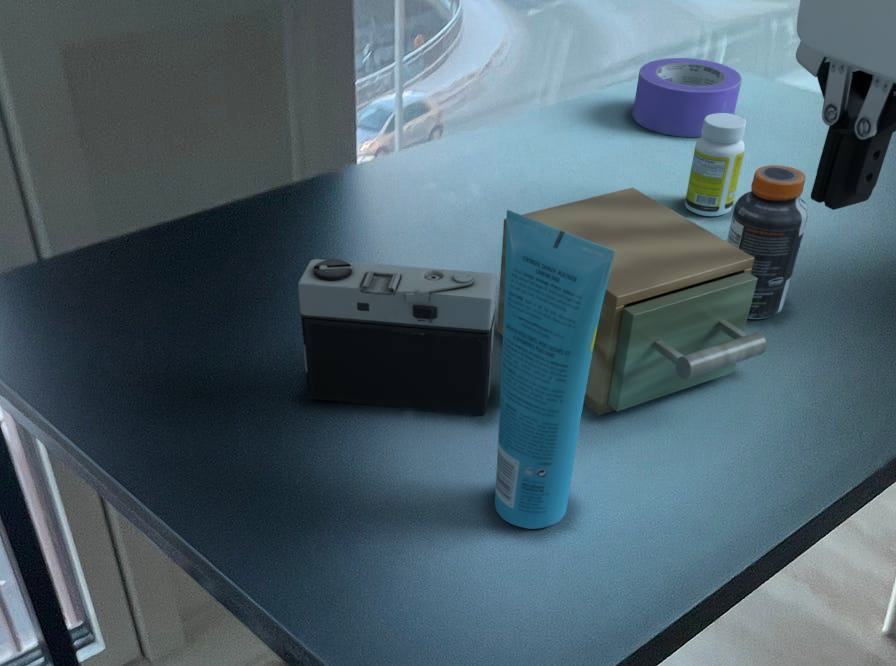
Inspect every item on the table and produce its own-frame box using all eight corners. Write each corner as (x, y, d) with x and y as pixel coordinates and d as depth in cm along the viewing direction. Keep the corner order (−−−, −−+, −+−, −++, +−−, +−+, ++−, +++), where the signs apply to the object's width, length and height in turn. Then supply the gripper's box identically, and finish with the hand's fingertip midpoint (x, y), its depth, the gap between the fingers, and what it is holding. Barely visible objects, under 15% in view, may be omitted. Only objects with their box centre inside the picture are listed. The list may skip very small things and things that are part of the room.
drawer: (772, 398, 77) (800, 303, 71) (653, 441, 73) (673, 343, 67) (628, 300, 87) (643, 210, 82) (518, 332, 84) (525, 239, 78)
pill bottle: (795, 305, 89) (834, 173, 81) (758, 328, 86) (794, 194, 78) (737, 282, 92) (768, 152, 84) (699, 304, 89) (728, 172, 81)
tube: (594, 511, 69) (639, 233, 55) (556, 547, 66) (593, 265, 52) (504, 470, 72) (525, 198, 58) (464, 504, 69) (476, 227, 55)
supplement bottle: (716, 195, 105) (735, 109, 99) (740, 214, 102) (760, 125, 96) (675, 201, 104) (691, 114, 98) (698, 220, 101) (716, 131, 95)
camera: (498, 363, 82) (506, 243, 75) (485, 419, 76) (493, 295, 69) (330, 348, 83) (322, 228, 76) (305, 402, 78) (295, 279, 71)
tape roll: (753, 126, 119) (763, 79, 115) (676, 144, 115) (685, 97, 111) (686, 96, 126) (694, 51, 122) (612, 113, 122) (618, 67, 118)
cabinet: (726, 373, 81) (755, 257, 74) (598, 415, 77) (617, 297, 70) (615, 296, 90) (632, 186, 83) (496, 331, 85) (503, 218, 79)
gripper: (1168, -194, 42) (990, 235, 55) (892, -231, 51) (795, 146, 65) (1050, -181, 40) (892, 266, 53) (782, -222, 49) (704, 168, 62)
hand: (839, 199), depth 59 cm, fingers closed
